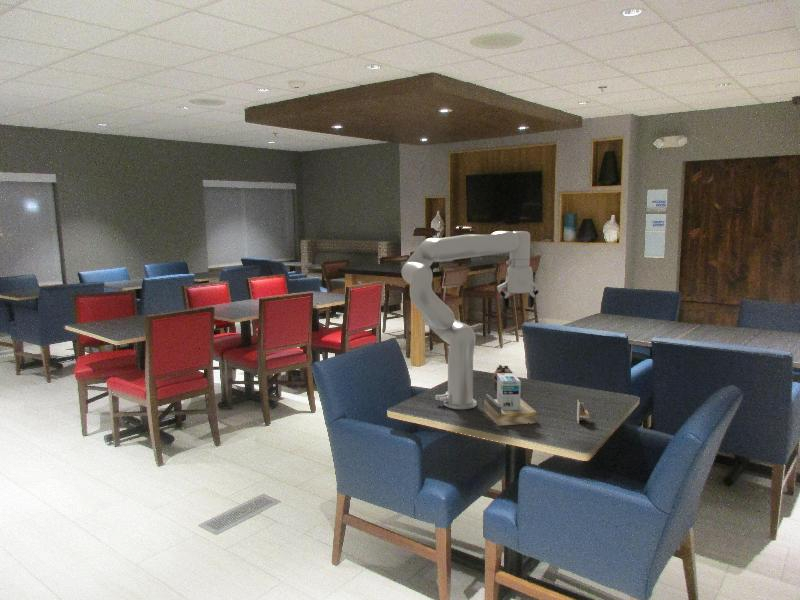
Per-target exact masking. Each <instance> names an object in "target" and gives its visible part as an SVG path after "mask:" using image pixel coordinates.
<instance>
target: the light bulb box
mask: <svg viewBox="0 0 800 600" xmlns="http://www.w3.org/2000/svg"><path fill="white" fill-rule="evenodd" d="M521 386H522V381H521V379H520V378H519V377H518V376H517V375H516V374H515V373H514V372H513V373H497V391H496V399H497V402H498V404H499V405H500V406H501V409H502V410H520V398H521V391H522V389H521V388H522V387H521ZM521 399H522V398H521Z"/></svg>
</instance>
